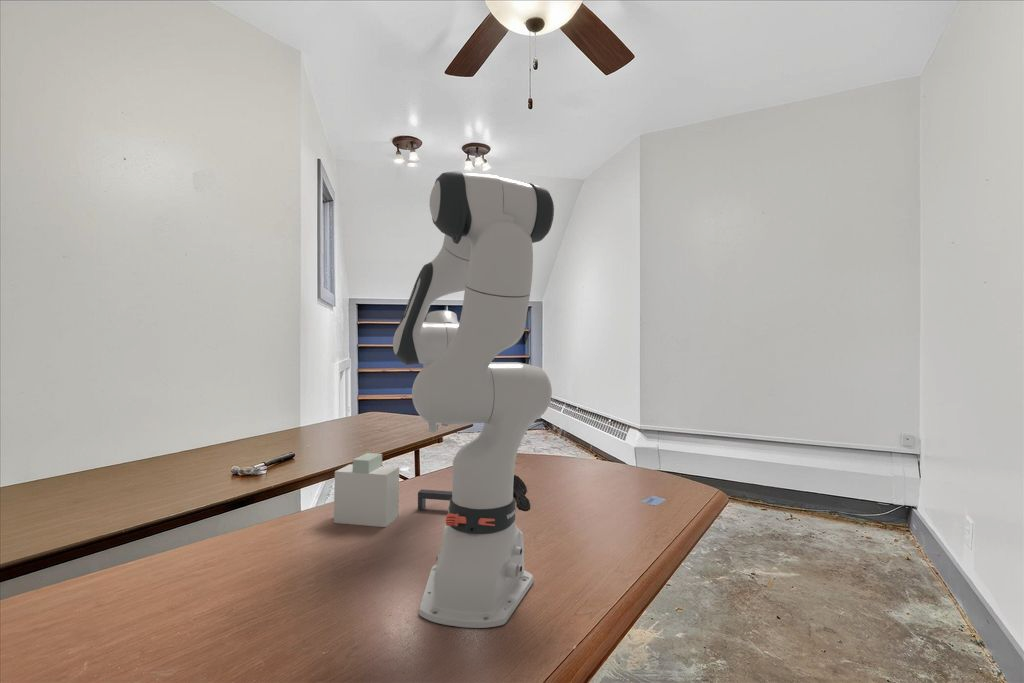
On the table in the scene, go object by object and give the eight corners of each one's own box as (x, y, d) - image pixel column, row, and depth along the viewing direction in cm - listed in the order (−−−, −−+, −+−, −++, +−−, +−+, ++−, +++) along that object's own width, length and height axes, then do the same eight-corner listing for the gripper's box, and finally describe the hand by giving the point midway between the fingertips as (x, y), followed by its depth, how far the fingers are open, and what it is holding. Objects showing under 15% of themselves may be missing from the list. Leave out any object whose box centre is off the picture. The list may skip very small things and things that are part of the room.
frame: (459, 509, 120) (459, 492, 120) (456, 513, 118) (456, 495, 118) (421, 506, 122) (421, 489, 122) (417, 510, 120) (417, 492, 120)
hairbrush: (510, 502, 119) (495, 471, 144) (509, 516, 119) (495, 483, 144) (542, 501, 121) (521, 470, 145) (541, 515, 121) (521, 482, 146)
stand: (398, 516, 115) (399, 454, 115) (385, 527, 108) (387, 461, 108) (349, 512, 117) (350, 452, 117) (333, 522, 110) (334, 458, 110)
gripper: (439, 377, 109) (438, 437, 109) (463, 372, 130) (462, 422, 130) (413, 376, 111) (412, 435, 111) (441, 371, 131) (440, 421, 131)
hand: (439, 428), depth 120 cm, fingers open, 8 cm apart
